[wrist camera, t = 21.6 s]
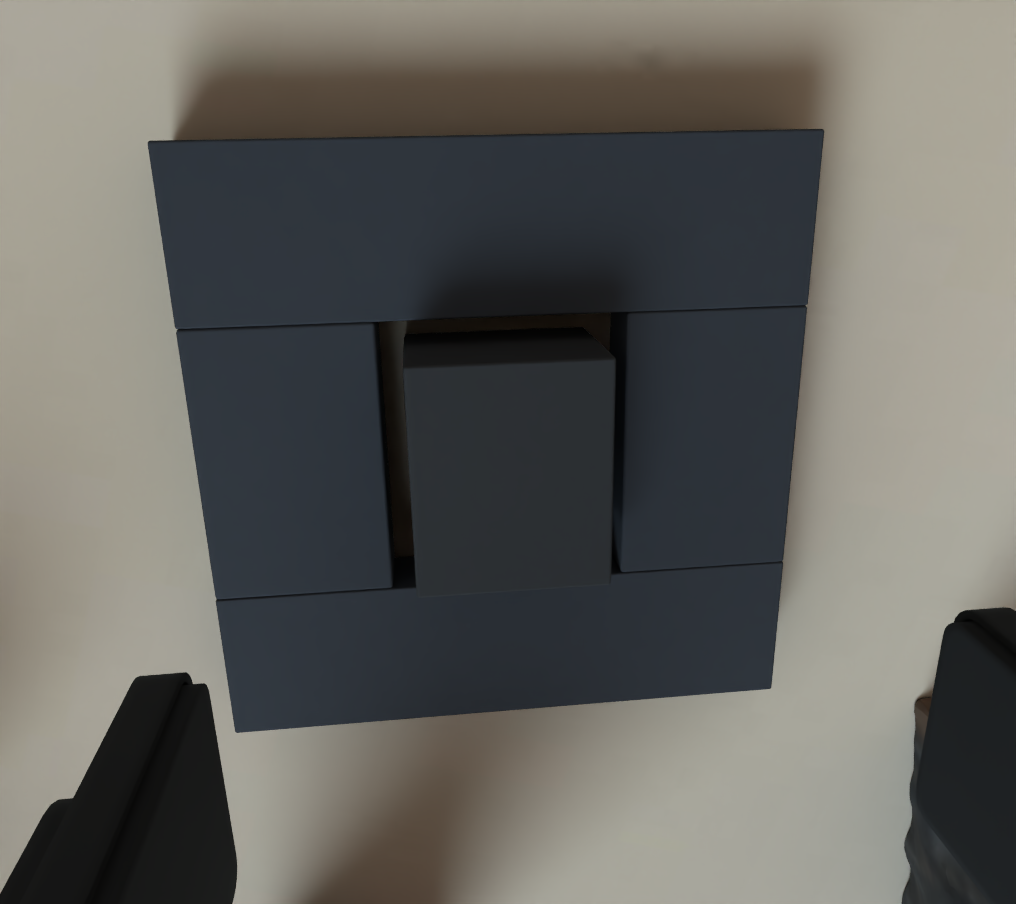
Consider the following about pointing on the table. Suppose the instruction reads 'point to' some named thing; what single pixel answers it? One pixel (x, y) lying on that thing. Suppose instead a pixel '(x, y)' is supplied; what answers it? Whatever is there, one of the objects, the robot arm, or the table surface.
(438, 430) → the small dark rectangular block
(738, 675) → the socket pad
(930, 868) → the rock
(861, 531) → the table surface
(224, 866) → the robot arm
